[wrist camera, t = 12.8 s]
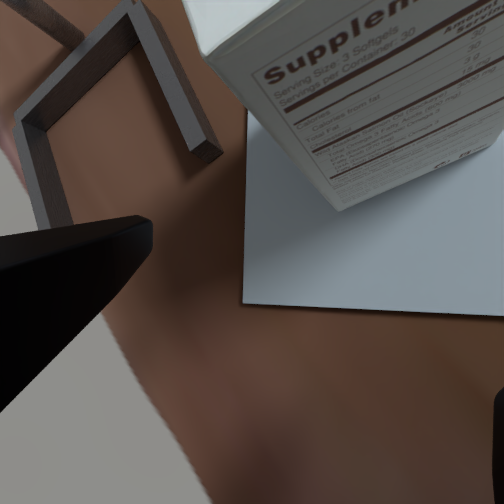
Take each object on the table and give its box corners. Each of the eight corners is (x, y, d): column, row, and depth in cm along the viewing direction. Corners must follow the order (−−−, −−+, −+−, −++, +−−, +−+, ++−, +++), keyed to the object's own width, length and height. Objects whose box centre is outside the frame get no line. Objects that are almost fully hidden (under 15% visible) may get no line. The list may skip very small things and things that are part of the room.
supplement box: (288, 98, 18) (101, -213, 7) (428, 16, 16) (493, -686, 4) (335, 218, 17) (187, 63, 5) (501, 148, 14) (917, -451, 3)
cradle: (223, 152, 20) (20, -3, 10) (72, 263, 25) (-182, 242, 14) (134, -31, 26) (-65, -268, 15) (22, 89, 30) (-193, -24, 19)
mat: (570, 318, 13) (576, 319, 13) (246, 302, 19) (242, 303, 18) (546, -10, 14) (551, -19, 14) (252, 69, 20) (249, 64, 20)
